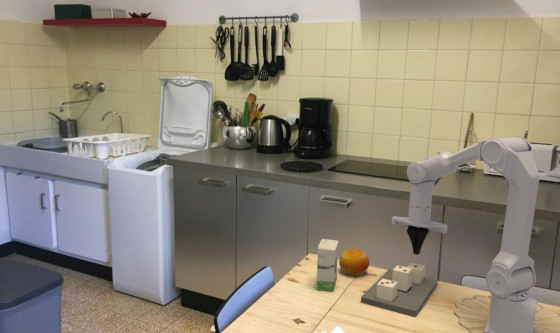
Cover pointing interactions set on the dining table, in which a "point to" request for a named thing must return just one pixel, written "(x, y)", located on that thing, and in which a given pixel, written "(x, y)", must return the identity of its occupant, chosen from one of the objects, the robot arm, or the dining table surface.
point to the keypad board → (402, 296)
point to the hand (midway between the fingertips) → (416, 253)
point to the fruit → (354, 262)
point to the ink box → (327, 264)
